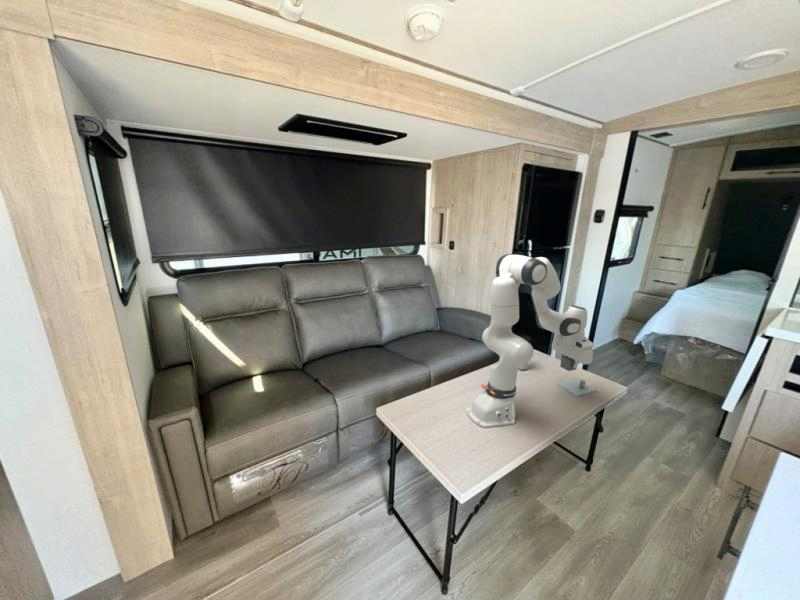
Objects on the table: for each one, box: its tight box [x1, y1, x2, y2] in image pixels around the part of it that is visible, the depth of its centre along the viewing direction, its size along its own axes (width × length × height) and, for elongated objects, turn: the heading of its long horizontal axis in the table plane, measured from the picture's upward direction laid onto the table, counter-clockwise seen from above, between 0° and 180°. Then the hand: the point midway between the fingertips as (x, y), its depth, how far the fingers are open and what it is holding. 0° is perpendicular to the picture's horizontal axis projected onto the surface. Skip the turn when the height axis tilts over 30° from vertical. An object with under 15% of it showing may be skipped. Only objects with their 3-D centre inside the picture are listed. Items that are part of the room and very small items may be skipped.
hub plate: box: [556, 378, 598, 398], centre depth 163 cm, size 14×12×5 cm
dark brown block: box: [560, 355, 577, 372], centre depth 153 cm, size 5×5×6 cm
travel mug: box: [518, 334, 532, 372], centre depth 182 cm, size 6×7×20 cm
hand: (568, 364), depth 154 cm, fingers closed on dark brown block, 5 cm apart
